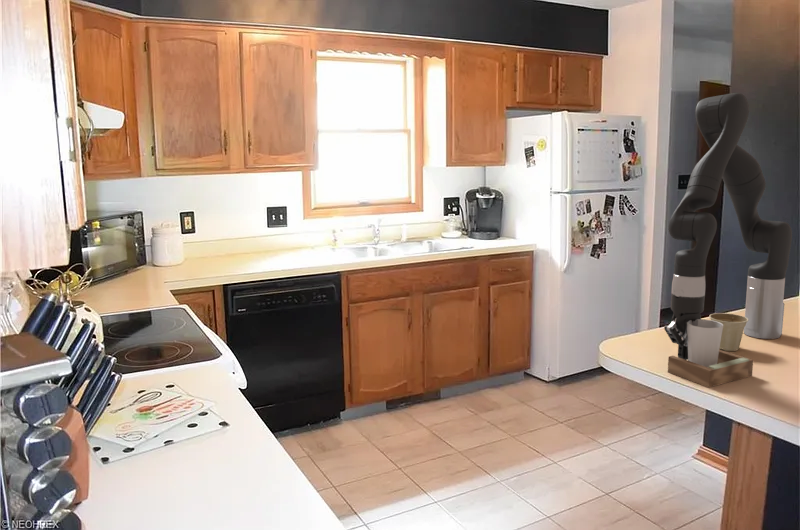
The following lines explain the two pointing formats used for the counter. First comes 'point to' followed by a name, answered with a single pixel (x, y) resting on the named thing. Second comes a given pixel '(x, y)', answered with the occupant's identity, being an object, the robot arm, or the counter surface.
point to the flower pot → (730, 329)
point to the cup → (704, 342)
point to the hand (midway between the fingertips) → (683, 359)
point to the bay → (712, 369)
